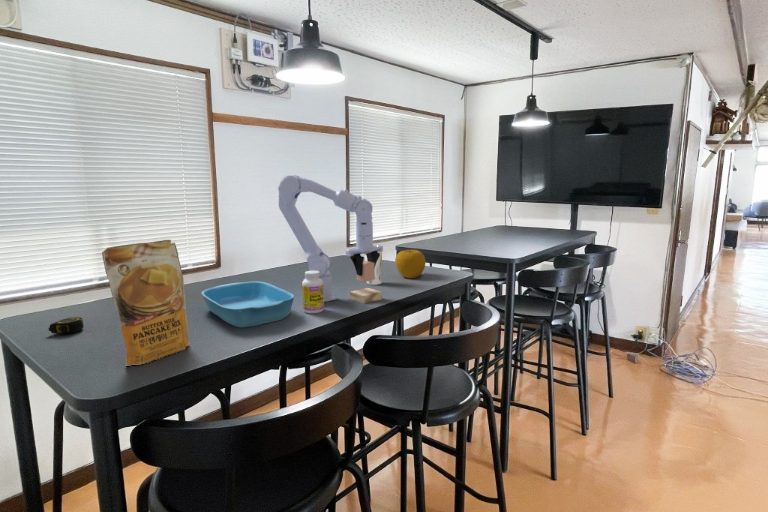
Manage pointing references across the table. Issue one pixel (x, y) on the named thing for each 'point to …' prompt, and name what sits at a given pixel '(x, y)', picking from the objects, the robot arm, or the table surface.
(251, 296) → the casserole dish
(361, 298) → the oak base
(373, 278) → the clay block
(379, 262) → the beer glass
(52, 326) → the tape measure
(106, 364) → the table surface
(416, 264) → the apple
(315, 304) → the supplement bottle
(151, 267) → the pancake mix bag
